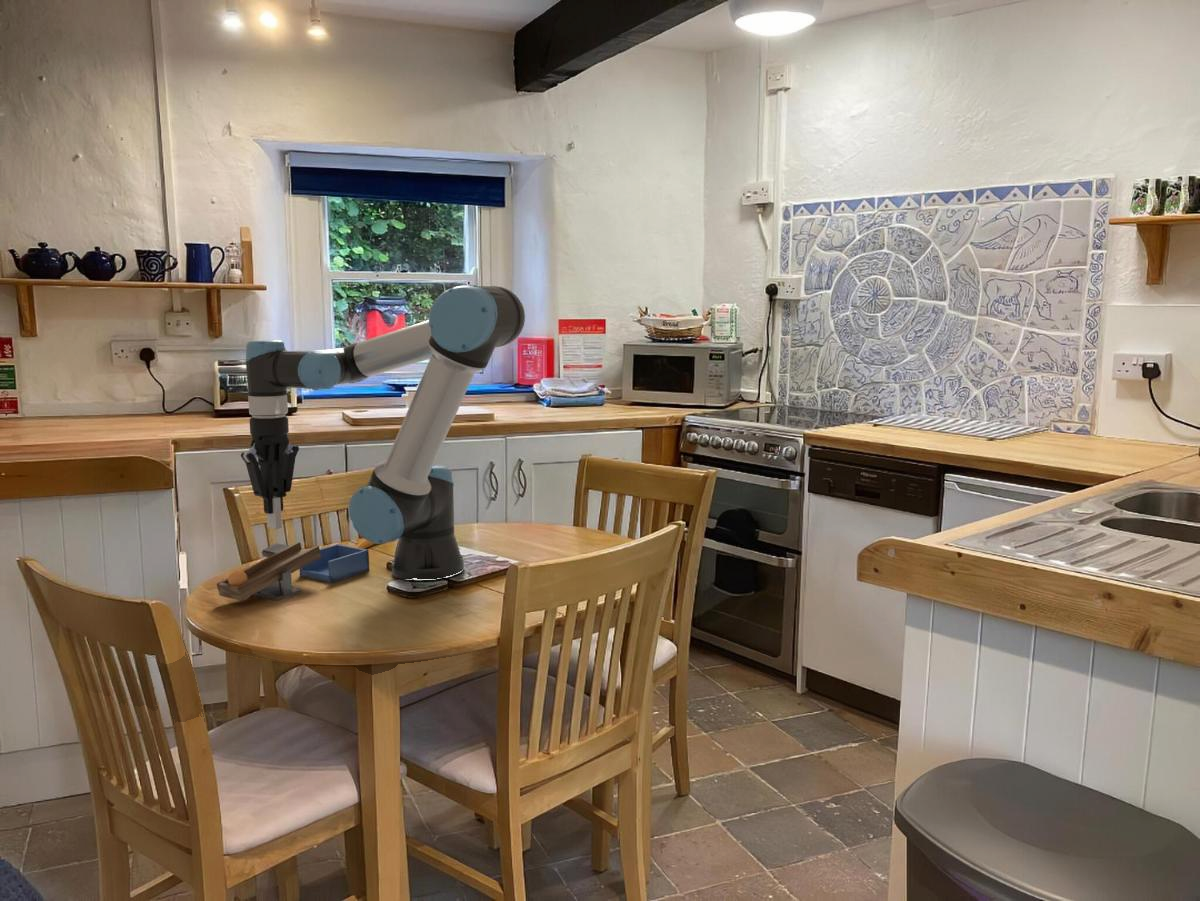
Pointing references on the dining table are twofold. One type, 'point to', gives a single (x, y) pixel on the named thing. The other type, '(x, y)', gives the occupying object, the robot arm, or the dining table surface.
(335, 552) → the tray
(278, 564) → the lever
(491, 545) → the dining table surface
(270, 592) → the stand
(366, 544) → the carrot
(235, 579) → the ball
